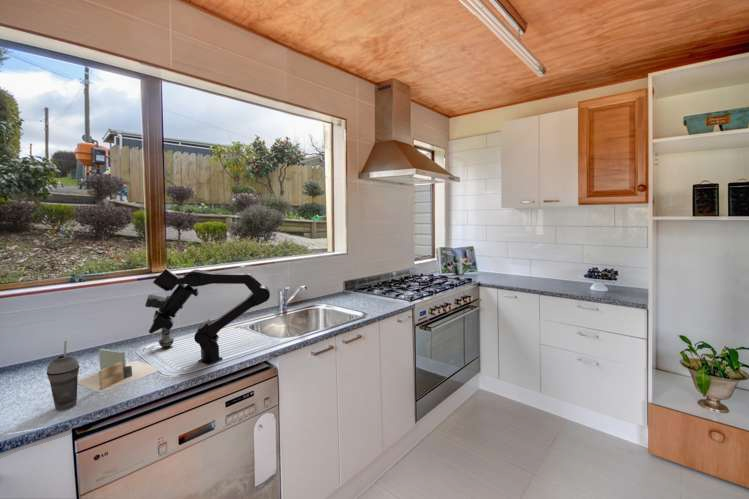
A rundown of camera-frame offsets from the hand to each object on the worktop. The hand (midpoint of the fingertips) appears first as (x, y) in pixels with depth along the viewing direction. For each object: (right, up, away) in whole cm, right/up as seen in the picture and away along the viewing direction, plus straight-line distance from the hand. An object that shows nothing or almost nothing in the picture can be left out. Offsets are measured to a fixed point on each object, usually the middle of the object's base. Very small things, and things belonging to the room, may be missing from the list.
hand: (149, 332), depth 132 cm
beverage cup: (-7, -16, -27) cm, 32 cm away
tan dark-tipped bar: (-4, -14, -11) cm, 18 cm away
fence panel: (-10, -13, -5) cm, 17 cm away
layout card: (-7, -14, -6) cm, 16 cm away
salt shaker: (-6, -12, +20) cm, 24 cm away
